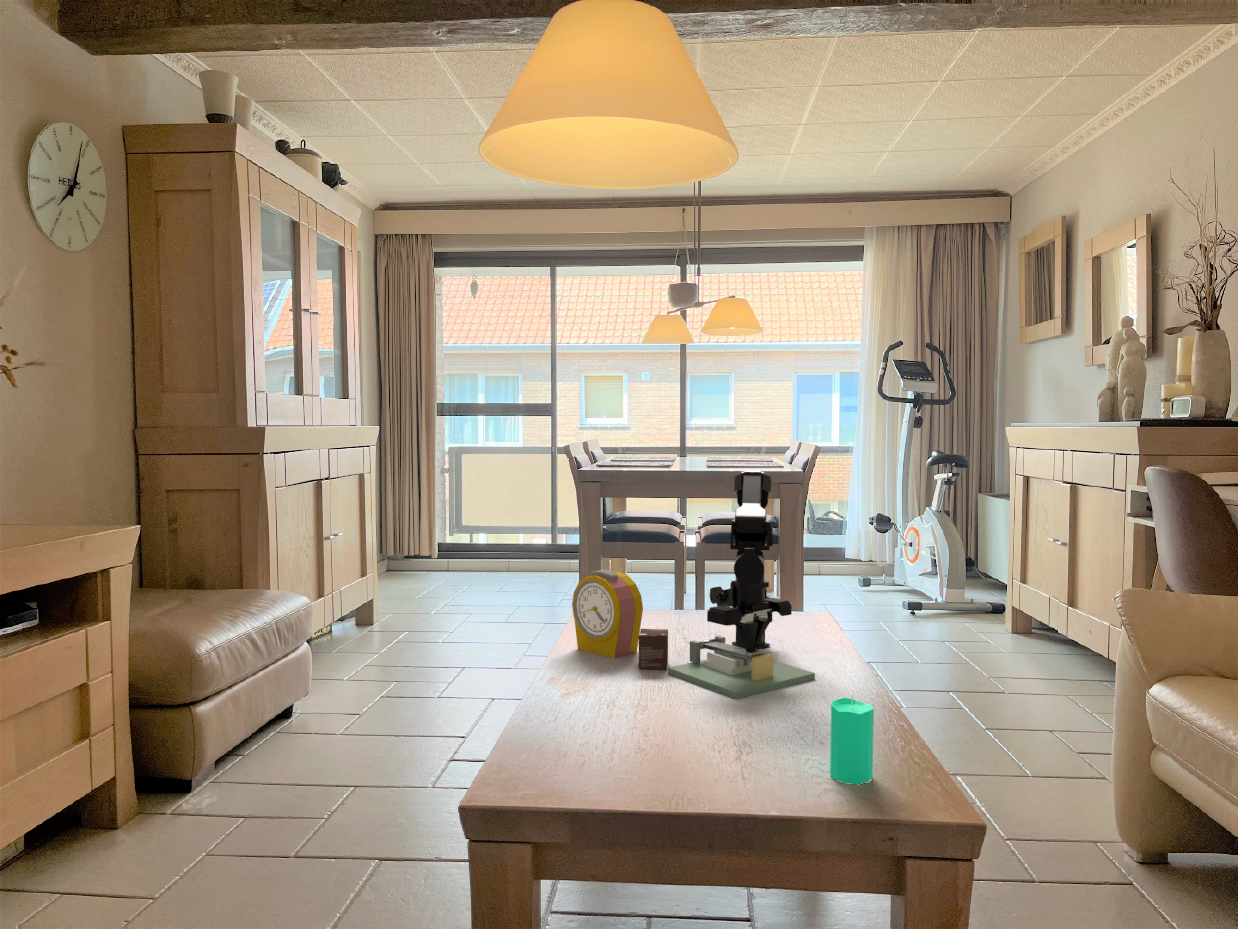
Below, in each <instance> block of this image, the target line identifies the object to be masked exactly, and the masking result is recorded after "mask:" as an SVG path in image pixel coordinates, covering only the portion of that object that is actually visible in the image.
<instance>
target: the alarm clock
mask: <svg viewBox="0 0 1238 929" xmlns="http://www.w3.org/2000/svg"><path fill="white" fill-rule="evenodd" d="M571 606H572V608H571V609H572V614H573V620H574V626H575V634H576V643H577V645H576V646H577V650H582V651H586V652H589V653H593V654H597V655H601V656H604V657H608V658H612V659H615V658H620V657H623V656H626V655H629V654H635V653H637V652H638V648H639V634H640V630H641V624H642V619H643V612H644V607H643V598H642V595H641V592H640V589H639V588H638V585H637V583H636V582H634V580H633V579H632V578H631V577H630V576H629V574H628V575H627V574H625V573H623V572H620V571H613V570H610V569H600V570H593V571H591V572H589V575H588V576H586V577H584V578H583V579H582V580H580V581H579V582H578V584H577V586H576V587H575V589H574V590H573V594H572V602H571Z"/></svg>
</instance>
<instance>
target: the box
mask: <svg viewBox="0 0 1238 929" xmlns="http://www.w3.org/2000/svg"><path fill="white" fill-rule="evenodd" d="M668 663H669V629H667V628H666V629H661V628H659V629H657V628H640V633H639V640H638V669H639V670H666V671H668Z"/></svg>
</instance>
